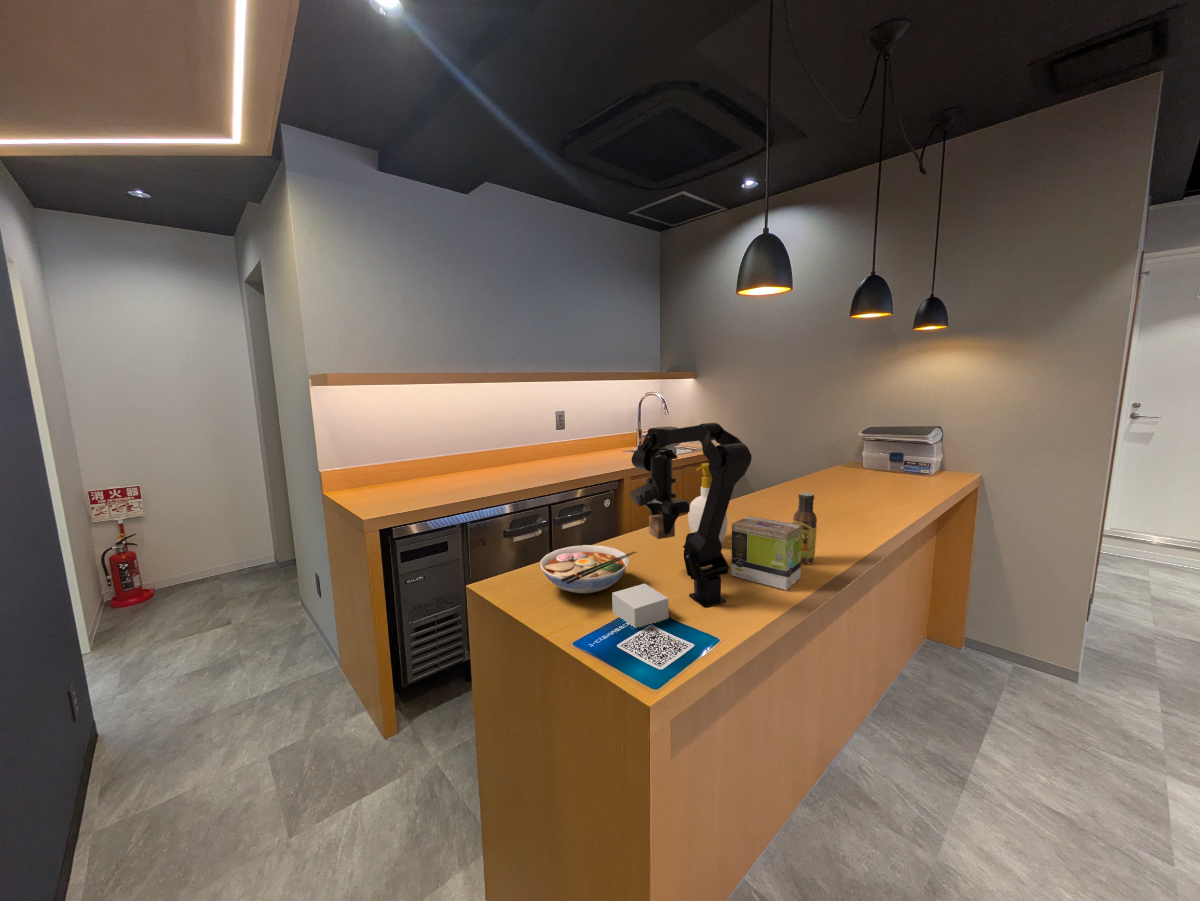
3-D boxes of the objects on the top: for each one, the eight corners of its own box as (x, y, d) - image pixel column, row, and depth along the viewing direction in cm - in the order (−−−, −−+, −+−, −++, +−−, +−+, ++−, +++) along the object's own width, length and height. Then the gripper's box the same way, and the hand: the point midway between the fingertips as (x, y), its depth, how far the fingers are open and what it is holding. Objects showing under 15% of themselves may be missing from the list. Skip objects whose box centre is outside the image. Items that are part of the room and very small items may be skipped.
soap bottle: (679, 541, 153) (679, 462, 149) (698, 535, 158) (698, 459, 154) (714, 553, 141) (715, 468, 137) (733, 546, 146) (734, 464, 143)
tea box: (801, 579, 122) (803, 524, 120) (786, 592, 115) (788, 534, 113) (747, 564, 132) (748, 514, 130) (729, 576, 125) (730, 522, 123)
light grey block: (668, 619, 104) (668, 598, 103) (634, 631, 99) (634, 608, 98) (644, 603, 111) (644, 583, 111) (612, 613, 107) (612, 592, 106)
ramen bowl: (590, 562, 137) (589, 535, 136) (651, 584, 121) (651, 554, 120) (519, 590, 120) (517, 559, 118) (579, 621, 103) (578, 586, 102)
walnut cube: (674, 536, 125) (674, 518, 124) (658, 539, 123) (658, 520, 122) (665, 531, 129) (665, 513, 129) (649, 533, 128) (649, 515, 127)
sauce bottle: (785, 559, 135) (788, 492, 132) (800, 555, 138) (803, 489, 135) (805, 567, 129) (807, 497, 126) (820, 562, 132) (823, 493, 129)
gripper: (619, 471, 129) (620, 525, 132) (651, 484, 112) (652, 546, 114) (654, 467, 133) (655, 520, 136) (691, 479, 116) (691, 540, 119)
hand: (661, 531), depth 126 cm, fingers closed on walnut cube, 5 cm apart
